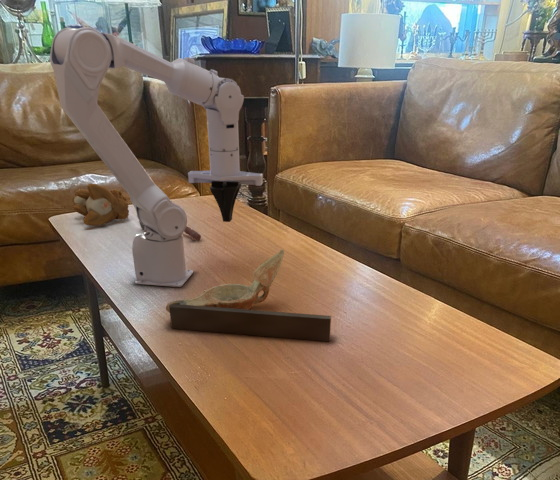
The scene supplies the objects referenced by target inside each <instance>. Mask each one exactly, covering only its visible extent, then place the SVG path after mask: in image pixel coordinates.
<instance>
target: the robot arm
mask: <svg viewBox="0 0 560 480" xmlns="http://www.w3.org/2000/svg"><path fill="white" fill-rule="evenodd" d="M49 63H50V65H51V67H52V70H53V74H54V79H55V85H56V90H57V94H58V100H59V105H60V107H61V109H62V110H63V112H64V113H65V115H66V116H67V117H68V118H69V120H70V121H71V123H73V125H74V126H75V127H76V129H77V130H78V131H79V133H80V134H81V135H82V137H83V138H84V139H85V140H86V142H87V143H88V145H90V147H91V148H92V150H94V152H95V154H96V155H97V156H98V157H99V159H100V160H101V161H102V162H103V164H104V165H105V166H106V167H107V169H108V170H109V171H110V173H111V174H112V175H113V177H114V178H115V179H116V180H117V182H118V183H119V184H120V186H121V187H122V189H123V190H124V191H125V192H126V193H127V195H128V196H129V198H130V199H129V200H130V203H131V204H132V205H133V207H134V208H135V213H136V217H137V220H138V222H139V221H140V222H141V223H142V224H143V225H144V227H145V229H144V231H143V233H137V234H136V235H135V236H134V237H133V240H132V245H131V246H132V247H131V249H132V251H131V252H132V260H133V266H134V267H133V268H134V275H135V279H136V280H135V281H134V284H135V285H145V286H161V287H173V288H181V287H182V286H184V285H185V283H186V282H187V281H188V280H189V279H190V277H191V276H192V275H193V274H194V270H193V269H187V266H186V256H185V255H186V254H185V246H184V245H185V244H184V243H185V242H184V233H185V232H184V230H185V228H186V226H188V216H187V213H186V211H185V210H184V209H183V207H181V206H180V205H179V204H176V203H175V202H173V201H172V200H171V199H170V198H169V196H168V195H167V194H166V193H165V192H164V190H162V189H161V188H160V187H159V186H158V185H157V184H156V183H155V182H154V180H153V179H152V178H151V176H150V175H149V174H148V172H147V171H146V170H145V168H144V166H143V164H141V163H140V161H139V160H138V159H137V157H136V155H135V154H134V152H133V151H132V150H131V149H130V147H129V146H128V144H127V143H126V141H125V140H124V139H123V138H122V136H121V135H120V133H119V132H118V130H117V129H116V128H115V126H114V125H113V123H112V122H111V121H110V120H109V118H108V117H107V115H106V114H105V112H104V111H103V110H102V108H101V107H100V105H99V104H98V100H99V95H100V86H101V84H102V82H103V80H104V79H105V76H106V75H107V73H108V70H109V69H114V70H115V69H119V68H123V67H124V68H126V69H129V70H131V71H134V72H137V73H140V74H141V75H145V76H147V77H150V78H153V79H156V80H158V81H161V82H164V84H165V86H166V88H167V90H168V92H169V93H170V94H171V95H174V96H176V97H179V98H181V99H184V100H186V101H189V102H191V103H193V104H196V105H199V106H201V107H202V108H203V109H204V110H205V111H206V125H207V126H206V127H207V141H208V157H209V170H190V171H189V172H187V179H188V184H195V183H200V184H211V185H210V187H209V190H210V192H211V194H212V196H213V198H214V199H215V201H216V204H217V206H218V208H219V211H220V214H221V218H222V222H223V223H230V222H231V221H232V220H233V212H234V207H235V204H236V200H237V197H238V195H239V192H240V190H241V187H242V185H246V186H247V185H251V186H256V187H261V186H262V185H263V184H264V174H263V173H259V172H258V173H257V172H249V171H241V167H240V166H241V165H240V139H239V138H240V137H239V120H240V110H241V109H242V107H243V104H244V101H245V95H243V94H242V91H241V87H240V86H239V85H238V83H237V81H235V80H234V79H232V78H227V77H219V75H218V71H217V70H215V69H210V70H208V69H205V68H204V67H201V66H199V65H197V64H195V59H194V58H192V57H187V56H184V58H182V57H178V58H176V59H174V60H173V61H169V60H167V59H164V58H162V57H160V56H158V55H156V54H154V53H152V52H151V51H148V50H146V49H145V48H142V47H140V46H138V45H137V44H135V43H132V42H130V41H128V40H127V39H124V38H122V37H119V36H117V35H114V34H111V33H107V32H100V31H99V30H98V29H95V28H93V27H90V26H88V27H87V26H85V27H84V26H83V27H79V28H73V27H65V28H62V29H60V30H58V31H57V32H56V33H55V35H54V36H53V38H52V42H51V48H50V54H49Z"/></svg>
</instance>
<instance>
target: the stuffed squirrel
mask: <svg viewBox="0 0 560 480" xmlns="http://www.w3.org/2000/svg"><path fill="white" fill-rule="evenodd" d="M86 188H87V189H83V188H81V189H80V188H77V190H76V191H75V194H74V196H73V197H72V204H73V205H74V206H73V207H72V208H73V210H74V212H76V213H78V214H79V215H80V216H84V218H83V220H82V222H83V224H84V225H86V226H104V225H106V224H108V223H110V222H113V221H114V220H119V221H122V220H125V219H129V216H130V210H129V203H128V201H127V197H126V196H125V195H124V193H123V192H122V189H120V190H119V189H118V188H115V189H113V190H109V189H108V188H106V187H104V186H102V185H99V184H96V183H88V184H87V186H86Z"/></svg>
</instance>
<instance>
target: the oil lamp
mask: <svg viewBox="0 0 560 480" xmlns="http://www.w3.org/2000/svg"><path fill="white" fill-rule="evenodd" d="M284 255H285V250H284V248H282V249H280V250H279V251H278V252H277V253H276V254H273V255H272V256H271V257H269V258H268V259H266V260H265V261H264V262H262V263H261V264H260V265H259V266H258V267H257V268H255V270H254V271H253V272H252V277H253V278H254V280H253V281H252V283H251V284H250V285H245V284H239V283H223V284H219V285H215V286H212V287H211V288H208V289H204V290H203V293H202V294H200V295H198V296H196V297H193V298H190V299H188V298H185V297H184V298H183V299H176V300H172V301H170V302H169V303H168V304H167V305H166V306H165V310H166V312H168V313H169V314H170V309H169V306H170V305H171V304H181V305H194V306H207V307H220V308H234V309H247V310H251V309H252V307H253V306H254V305H257V304H261V303H263V302H264V301H265V300H267V298H268V296H269V293H270V287H271V286H272V285H273V282H274V281H275V278H276V276H277V274H278V272H279V269H280V267H281V266H282V265H281V264H282V262H283V260H284ZM261 292H263V293H262V294H261V295H259V294H260V293H261Z"/></svg>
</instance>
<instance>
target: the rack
mask: <svg viewBox="0 0 560 480" xmlns="http://www.w3.org/2000/svg"><path fill="white" fill-rule="evenodd" d="M169 309H170V313H169V317H170V325H171V327H170V328H171V329H173V330H185V331H196V332H197V331H198V332H207V333H208V332H209V333H220V334H232V335H233V334H234V335H244V336H245V335H246V336H256V337H258V336H259V337H269V338H280V339H294V340H305V341H318V342H328V343H329V342H330V341H331V332H332V331H331V328H332V315H324V314H314V313H313V314H311V313H297V312H287V311H286V312H285V311H284V312H283V311H271V310H258V309H250V310H247V309H234V308H220V307H207V306H194V305H181V304H171V305H170V306H169Z"/></svg>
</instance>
